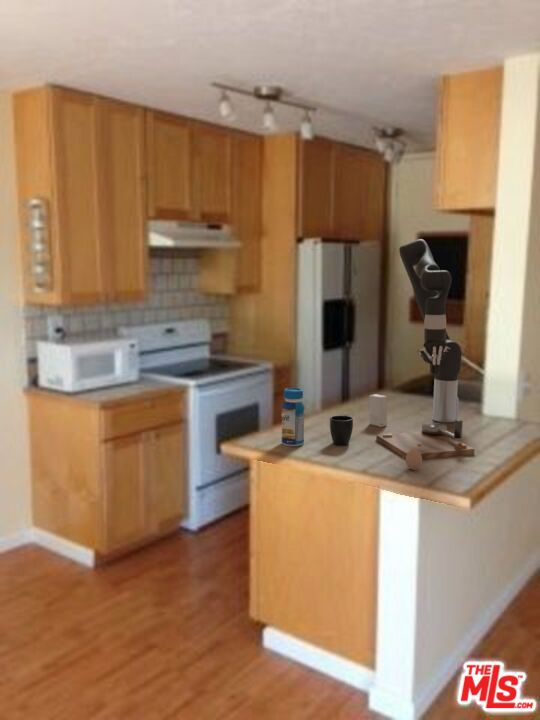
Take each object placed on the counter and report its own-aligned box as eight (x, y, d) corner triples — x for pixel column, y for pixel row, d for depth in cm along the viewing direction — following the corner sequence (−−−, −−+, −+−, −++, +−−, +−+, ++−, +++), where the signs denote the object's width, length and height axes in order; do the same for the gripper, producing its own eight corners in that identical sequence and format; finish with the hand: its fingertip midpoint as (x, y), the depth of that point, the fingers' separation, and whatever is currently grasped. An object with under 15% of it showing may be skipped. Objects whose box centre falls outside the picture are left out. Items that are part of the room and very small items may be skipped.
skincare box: (387, 425, 268) (388, 396, 266) (379, 427, 266) (380, 397, 264) (375, 422, 273) (376, 393, 271) (368, 424, 270) (369, 394, 268)
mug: (357, 439, 249) (358, 414, 247) (348, 447, 238) (349, 421, 236) (336, 436, 252) (336, 412, 250) (326, 445, 241) (327, 419, 239)
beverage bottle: (306, 446, 239) (307, 391, 236) (283, 447, 238) (283, 392, 235) (301, 439, 248) (302, 386, 244) (279, 440, 246) (279, 387, 243)
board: (436, 435, 255) (437, 427, 254) (474, 454, 231) (474, 446, 230) (376, 440, 248) (376, 432, 247) (408, 460, 224) (408, 451, 223)
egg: (406, 466, 218) (406, 446, 217) (422, 468, 216) (423, 447, 215) (404, 471, 213) (405, 450, 212) (421, 473, 211) (421, 452, 210)
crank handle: (417, 429, 253) (418, 408, 252) (438, 428, 256) (439, 406, 255) (448, 445, 233) (449, 422, 232) (470, 443, 235) (472, 420, 234)
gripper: (423, 329, 235) (422, 378, 237) (457, 327, 238) (456, 375, 241) (413, 326, 242) (412, 374, 245) (446, 324, 245) (445, 371, 248)
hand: (434, 374), depth 243 cm, fingers closed
